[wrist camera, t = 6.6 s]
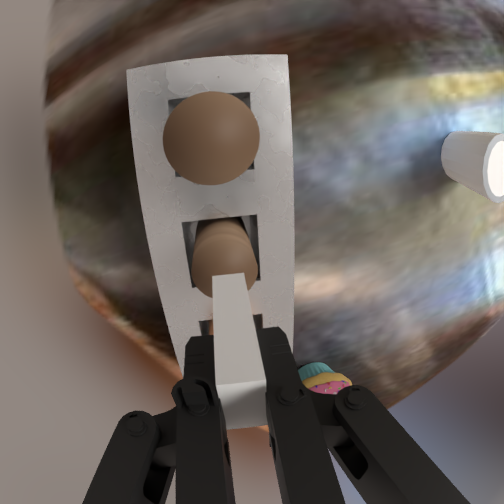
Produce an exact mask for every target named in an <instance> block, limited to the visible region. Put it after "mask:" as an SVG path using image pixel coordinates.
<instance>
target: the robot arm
mask: <svg viewBox="0 0 504 504" xmlns="http://www.w3.org/2000/svg"><path fill="white" fill-rule="evenodd" d="M212 290H213V330H214V335H204V336H192V337H190V339H189V341H188V342H187V344H186V345H185V358H184V375H183V379H182V380H180V381H178V382H177V383H176V384H175V386H174V387H173V389H172V392H171V394H172V397H173V399H174V401H175V404H176V407H174V408H173V409H171V410H169V411H167V412H165V413H161V414H158V415H154V416H151V415H150V414H149V413H146V412H144V411H133V412H129V413H128V414H126V415H124V416H123V417H122V418H121V419H120V421H119V422H118V424H117V427H116V429H115V431H114V433H113V435H112V437H111V439H110V442H109V444H108V446H107V448H106V451H105V453H104V455H103V457H102V459H101V462H100V464H99V466H98V468H97V471H96V473H95V475H94V477H93V480H92V482H91V484H90V487H89V489H88V491H87V494H86V496H85V499H84V501H83V503H82V504H165V502H166V498H167V495H168V492H169V488H170V485H171V482H172V479H173V475H174V472H175V469H176V504H236V503H235V496H234V488H233V478H232V469H231V460H230V451H229V442H228V439H227V431H226V429H237V428H246V427H255V426H262V425H268V427H269V438H270V447H271V448H272V453H273V458H274V464H275V469H276V474H277V479H278V484H279V488H280V493H281V498H282V503H283V504H345V501H344V497H343V495H342V491H341V488H340V485H339V482H338V479H337V476H336V472H335V470H334V467H333V463H332V460H331V457H330V454H329V451H330V452H331V453H332V455H333V456H334V458H335V459H336V461H337V462H338V464H339V465H340V466H341V468H342V470H343V471H344V472H345V474H346V475H347V477H348V478H349V479H350V481H351V482H352V484H353V485H354V487H355V488H356V489H357V491H358V492H359V494H360V495H361V496H362V498H363V499H364V501H365V502H366V503H367V504H470V503H469V502H468V501H467V499H466V498H465V497H464V496H463V495H462V494H461V493H460V492H459V491H458V490H457V488H456V487H455V486H454V485H453V484H452V483H451V481H450V480H449V479H448V478H447V477H446V476H445V475H444V474H443V472H442V471H441V470H440V469H439V468H438V467H437V466H436V464H435V463H434V462H433V461H432V460H431V459H430V458H429V457H428V455H427V454H426V453H425V452H424V451H423V450H422V449H421V448H420V446H419V445H418V444H417V443H416V442H415V441H414V440H413V438H412V437H411V436H410V435H409V434H408V433H407V432H406V431H405V429H404V428H403V427H402V426H401V425H400V424H399V423H398V422H397V420H396V419H395V418H394V417H393V416H392V415H391V414H390V413H389V411H388V410H387V409H386V408H385V407H384V406H383V404H382V403H381V402H380V401H379V400H378V399H377V398H376V397H375V395H374V394H373V393H372V392H371V391H370V390H368V389H367V388H365V387H362V386H359V385H351V386H347V387H344V388H343V389H341V390H340V391H339V392H338V393H337V394H323V393H317V392H314V391H312V390H310V389H308V388H307V387H306V386H305V385H304V384H303V383H302V381H301V378H300V375H299V372H298V369H297V366H296V363H295V360H294V357H293V354H292V351H291V347H290V345H289V341H288V338H287V335H286V333H285V332H284V331H283V330H282V329H281V328H280V327H279V326H277V327H269V328H261V329H255V325H254V320H253V315H252V310H251V305H250V300H249V295H248V290H247V285H246V281H245V276H244V273H236V274H227V275H217V276H212ZM328 449H329V451H328Z"/></svg>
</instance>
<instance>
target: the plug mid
mask: <svg viewBox="0 0 504 504" xmlns="http://www.w3.org/2000/svg"><path fill="white" fill-rule="evenodd" d="M191 273H192V279H193V281H194V284H195V285H196V287H197V288H198V289H199V290H200V291H201V292H202V293H203V294H204V295H206V296H208V297H210V298H213V290H212V276H217V275H227V274H236V273H244V276H245V281H246V285H247V290H248V291H249V290H250V288H251V287H252V286H253V284H254V283H255V281H256V278H257V274H258V267H257V262H256V259H255V256H254V253H253V249H252V246H251V243H250V240H249V237H248V234H247V231H246V228H245V225H244V222H243V220H242V218H241V217H240V216H235V217H225V218H216V219H206V220H199V221H198V224H197V228H196V235H195V243H194V251H193V260H192V270H191Z"/></svg>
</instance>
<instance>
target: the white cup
mask: <svg viewBox="0 0 504 504" xmlns="http://www.w3.org/2000/svg"><path fill="white" fill-rule="evenodd" d="M441 161H442V167H443V169H444V171H445V173H446V175H448V176H449V177H450V178H451V179H453V180H455V181H457V182H459V183H460V184H462V185H464V186H466V187H468V188H470V189H471V190H473V191H475V192H477V193H479V194H480V195H482V196H484V197H486V198H487V199H489V200H491V201H492V202H496V203H501V202H503V201H504V134H502V133H489V132H473V131H454V132H451V133H450V134H449V135H448V136H447V137H446V138H445V140H444V143H443V145H442V150H441Z"/></svg>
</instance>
